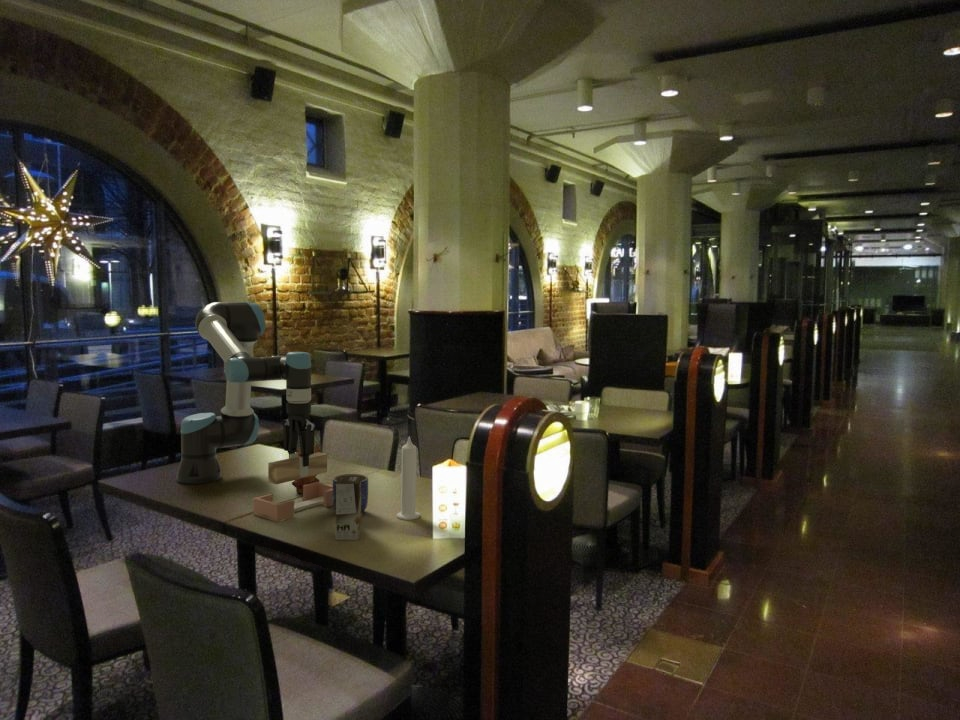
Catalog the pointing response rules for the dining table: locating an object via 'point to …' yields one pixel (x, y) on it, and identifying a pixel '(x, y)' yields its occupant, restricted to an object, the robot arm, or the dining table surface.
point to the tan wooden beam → (295, 468)
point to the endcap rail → (278, 512)
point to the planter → (363, 490)
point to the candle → (408, 483)
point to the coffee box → (348, 507)
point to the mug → (306, 480)
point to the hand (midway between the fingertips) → (298, 474)
